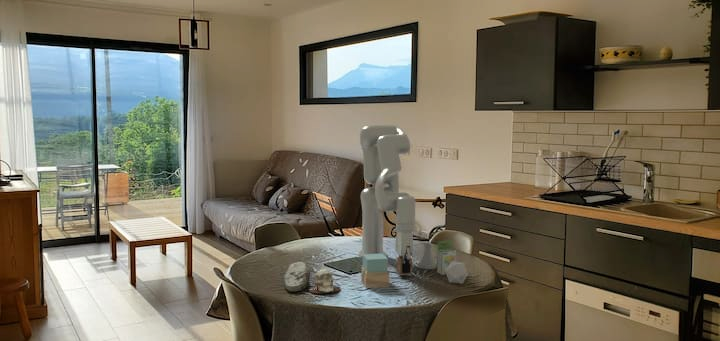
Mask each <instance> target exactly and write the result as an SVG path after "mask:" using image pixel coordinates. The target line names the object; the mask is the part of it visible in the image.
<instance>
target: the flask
mask: <svg viewBox="0 0 720 341" xmlns="http://www.w3.org/2000/svg"><path fill="white" fill-rule="evenodd" d="M423 246H424V251H423V255H422V258H421V260H420V262H419V265H418V267H419V268H420V269H422V270H434V269H437V265H436V264H435V261H434V257H433V255H432V244H430V243H425V244H424V245H423Z"/></svg>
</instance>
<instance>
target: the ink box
mask: <svg viewBox="0 0 720 341" xmlns="http://www.w3.org/2000/svg"><path fill="white" fill-rule="evenodd" d="M443 244H447V245H443ZM451 245H452V240H451V239H449V240H441V241H437V251H436V252H437V253H436V254H437V256H436V257H437V258H436V264H437V265H436V273H437V274H438V275H440V276H447V275H446V272H445V271H446V269H447V267H448V266H449V264H450V263H451V262H457V250H456V249H454V248H452V247H451Z"/></svg>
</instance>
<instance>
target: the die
mask: <svg viewBox="0 0 720 341" xmlns="http://www.w3.org/2000/svg"><path fill="white" fill-rule="evenodd" d="M445 272H446V275H445V276H446V277H447V280H448V282H449V283H450V284H459V285H463V283H464V282H465V280H466V279H467V277H468V275H469V273H468V270H467V267H466V265H465V262H459V261H456V262H451V263H450V264H449V266H448V267H447V269H446V271H445Z"/></svg>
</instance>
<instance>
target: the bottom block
mask: <svg viewBox="0 0 720 341" xmlns="http://www.w3.org/2000/svg"><path fill="white" fill-rule="evenodd" d="M360 269H361V274H360V275H361V276H360V281H361V283H362V284H363V286H364V288H365V289H371V288H372V289H374V288H389V287H390V271H389V270H388V271H387V272H369V273H367V272H366V271H365V269H364V268H363V265H362V266H361V268H360Z"/></svg>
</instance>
